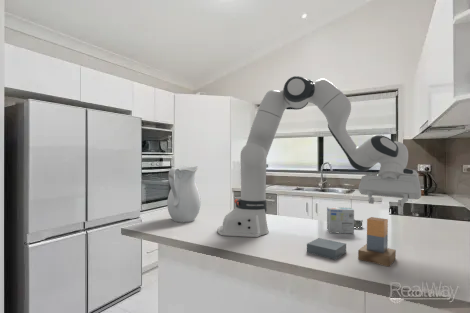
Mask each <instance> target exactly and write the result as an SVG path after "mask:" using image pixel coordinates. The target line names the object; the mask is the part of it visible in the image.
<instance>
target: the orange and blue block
mask: <svg viewBox="0 0 470 313" xmlns="http://www.w3.org/2000/svg"><path fill="white" fill-rule="evenodd" d="M388 222H389V219H388V218H383V217H382V218H381V217H374V216H371V217H368V218H367V219H366V244H367V250H369V251H374V252H379V253H383V254H384V253H385V252H386V251H387V248H388V241H389V240H388V237H389V236H388V235H389V234H388V230H389V229H388V227H389V224H388Z"/></svg>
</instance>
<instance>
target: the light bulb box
mask: <svg viewBox="0 0 470 313" xmlns="http://www.w3.org/2000/svg"><path fill="white" fill-rule="evenodd" d="M326 215H327V216H326V230H327V229H328V230H327V231H328V232H329V233H330V232H340V233H339V234H346V233H354V234H355V228H354V219H355V209H354V208H351V207H344V206H343V207H341V206H335V207H334V206H327V207H326Z"/></svg>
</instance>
